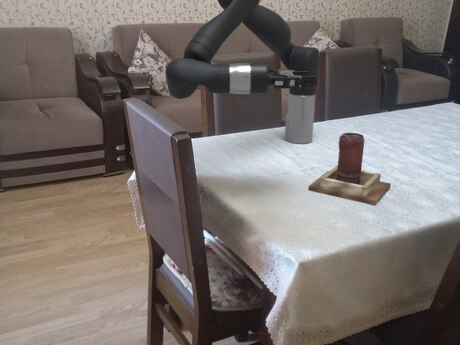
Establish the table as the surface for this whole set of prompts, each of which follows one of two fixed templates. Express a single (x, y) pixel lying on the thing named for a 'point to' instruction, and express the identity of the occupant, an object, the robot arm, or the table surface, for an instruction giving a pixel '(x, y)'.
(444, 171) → the table surface
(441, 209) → the table surface
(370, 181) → the tray
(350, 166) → the can
